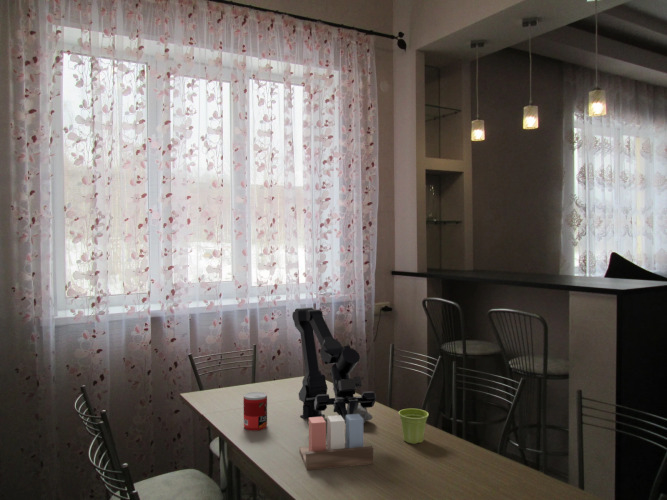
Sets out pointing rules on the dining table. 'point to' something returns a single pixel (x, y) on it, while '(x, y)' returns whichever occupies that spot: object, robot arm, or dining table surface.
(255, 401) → the canned food
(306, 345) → the robot arm
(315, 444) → the red rectangular block
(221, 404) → the dining table surface
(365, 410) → the fossil
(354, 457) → the wooden block stand
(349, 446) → the light blue tall block
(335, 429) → the white tall block
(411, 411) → the plant pot
